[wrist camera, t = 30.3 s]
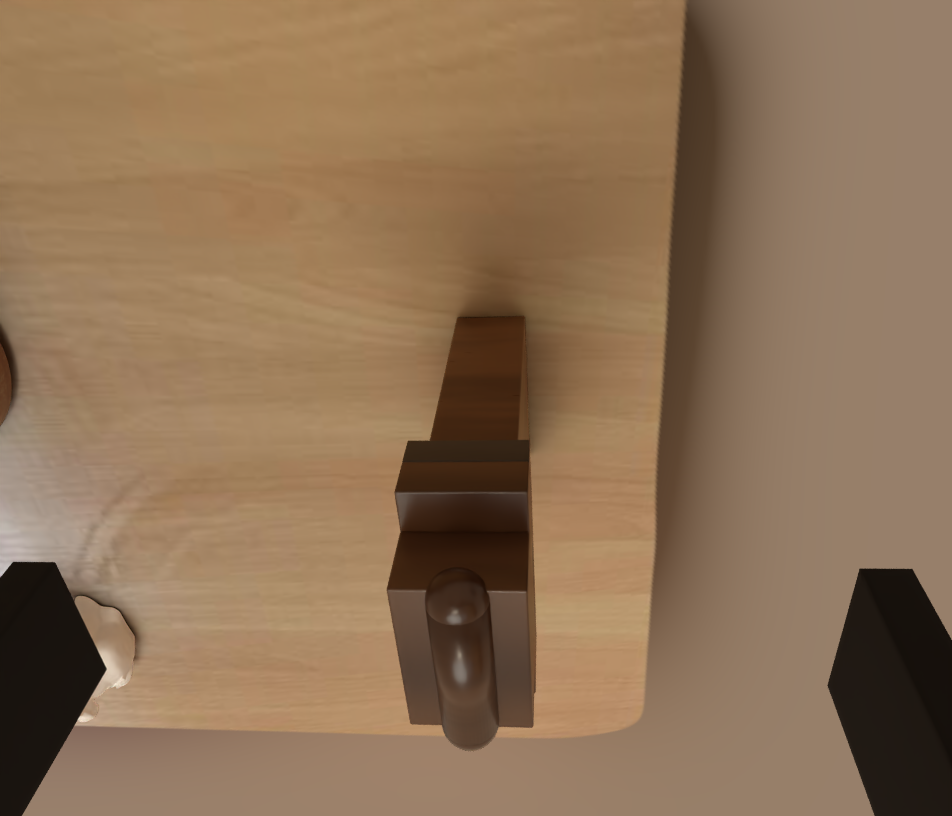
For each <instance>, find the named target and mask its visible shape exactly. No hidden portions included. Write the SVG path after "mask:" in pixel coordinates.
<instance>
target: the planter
mask: <svg viewBox="0 0 952 816" xmlns="http://www.w3.org/2000/svg"><path fill="white" fill-rule="evenodd" d="M11 392H12V384H11V374H10V369H9V365H8V361H7V358H6V355H5V352H4V350H3V347H2V345H1V343H0V426H1V424H2V423H3V421H4V419H5V417H6V415H7V412H8V409H9V406H10V401H11Z"/></svg>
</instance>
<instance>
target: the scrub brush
mask: <svg viewBox="0 0 952 816" xmlns="http://www.w3.org/2000/svg"><path fill="white" fill-rule="evenodd" d="M402 462H403V463H402V466H401V470H400V473H399V477H398V481H397V485H396V488H395V492H394V493H395V499H396V505H397V512H398V518H399V525H400V531H401V533H400V536H399V540H398V544H397V548H396V552H395V557H394V561H393V565H392V569H391V573H390V578H389V582H388V586H387V594H388V600H389V606H390V611H391V617H392V623H393V628H394V634H395V639H396V645H397V651H398V656H399V662H400V668H401V673H402V679H403V684H404V690H405V696H406V701H407V707H408V713H409V718H410V723H411V724H418V725H442V727H443V731H444V733H445V735H446V737H447V738H448V740H449V741H450V742H451V743H452V744H453V745H454V746H456V747H458V748H460V749H462V750H465V751H475V750H479V749H481V748H484V747H485V746H486V745H488V744H489V743H490V742H491V741H492V740H493V738H494V737H495V735H496V733H497V730H498V727H523V728H532V727H533V719H534V693H535V692H536V608H535V579H534V549H533V520H532V491H531V461H530V441H529V440H446V441H408V442H407V446H406V450H405V454H404V457H403V461H402Z"/></svg>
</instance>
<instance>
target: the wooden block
mask: <svg viewBox="0 0 952 816" xmlns="http://www.w3.org/2000/svg"><path fill="white" fill-rule="evenodd" d="M446 440H529V412H528V383H527V354H526V324H525V317H524V316H515V317H475V318H457V321H456V325H455V330H454V334H453V339H452V343H451V348H450V352H449V357H448V361H447V365H446V370H445V374H444V379H443V383H442V388H441V392H440V397H439V401H438V406H437V410H436V415H435V419H434V424H433V428H432V433H431V437H430V441H446Z"/></svg>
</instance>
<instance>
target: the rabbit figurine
mask: <svg viewBox="0 0 952 816" xmlns="http://www.w3.org/2000/svg"><path fill="white" fill-rule="evenodd" d="M75 604H76V606H77V608H78V611H79V613H80V615H81V617H82V619H83V621H84V623H85V625H86V627H87V629H88V631H89V633H90V635H91V637H92V639H93V641H94V644H95V646H96V648H97V650H98V652H99V654H100V656H101V658H102V660H103V662H104V664H105V666H106V668H107V670H106V672H105V674H104V675H103V677H102V679H101V680H100V682H99V684H98V686H97V687H96V689H95V691H94V693H93V694H92V696H91V698H90V699H89V701H88V703H87V705H86V706H85V708H84V710H83V711H82V713H81V715H80V717H79V718H78V720H77V721H79V722H87V721H89V720H91V719H93V718H94V717H95V716H96V715H97V713H98V709H99V705H98V704H97V703H95V702H94V700H95V698H97V697H99V696H100V695H102V694H103V693H104V692H105V691H106V690H107V689H109V688H112V687H117V689H118V688H119V687H121V686H124V685H126V684H127V683H128V682H129V680H130V678H131V676H132V672H133V659H134V656H135V636H134V634H133V633H132V631H131V630H130V628H129V627H128V625H127V624H126V622H125V620H124V618H123V617H122V615H121V613H120V612H119V611H118V610H117V609H115V608H112V607H102V606H100V605H98V604H97V603H96V602H94V601H93V600H91V599H90V598H88V597H85V596H77V597H76V599H75Z"/></svg>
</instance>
